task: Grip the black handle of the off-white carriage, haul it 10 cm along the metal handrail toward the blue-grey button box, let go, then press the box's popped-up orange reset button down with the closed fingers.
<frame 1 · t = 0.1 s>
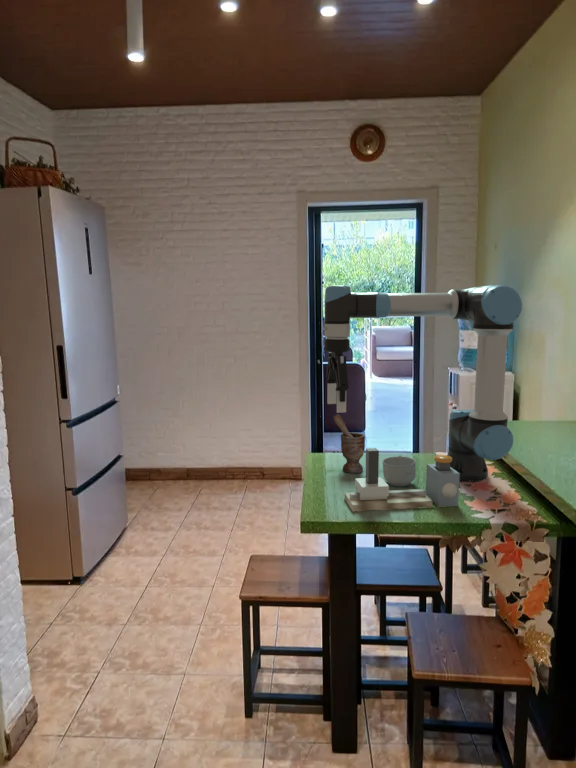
hand: (336, 407, 162), 28 cm above the table, tool pointing down, fingers open, 13 cm apart
rail board: (387, 503, 159), on the table
mortar and pestle: (348, 470, 191), on the table
reset button: (442, 468, 160), point 10 cm above the table, slide at 0.0 cm
carriage: (371, 473, 157), point 10 cm above the table, slide at 0.0 cm
blue-grey button box: (441, 500, 161), on the table
teacup: (399, 482, 178), on the table
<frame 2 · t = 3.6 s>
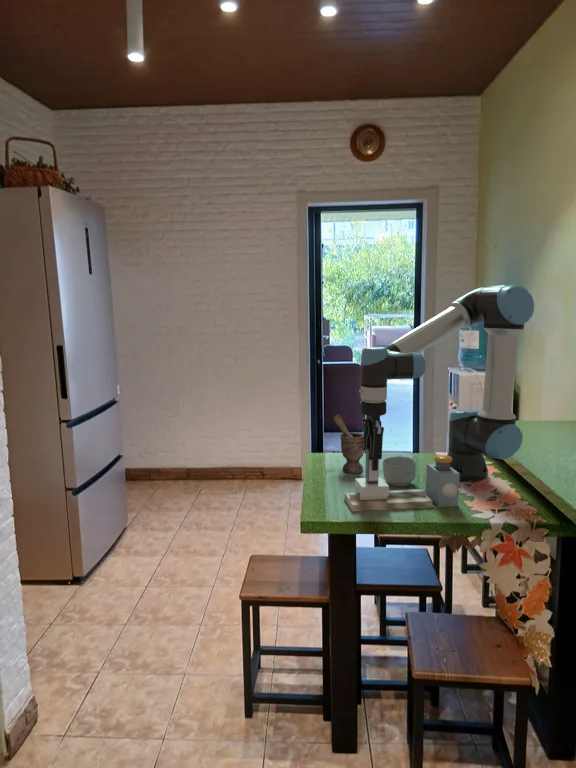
hand: (371, 478, 157), 8 cm above the table, tool pointing down, fingers closed on carriage, 3 cm apart
carriage: (371, 473, 157), point 10 cm above the table, slide at 0.0 cm, touching gripper
everything else where it was.
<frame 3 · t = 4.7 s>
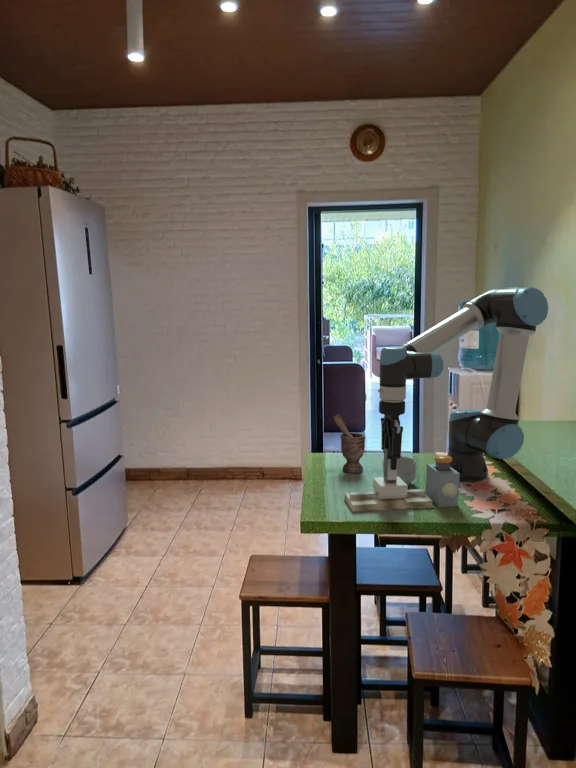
hand: (390, 477, 158), 8 cm above the table, tool pointing down, fingers closed on carriage, 3 cm apart
carriage: (390, 472, 158), point 10 cm above the table, slide at 5.6 cm, touching gripper
everything else where it was.
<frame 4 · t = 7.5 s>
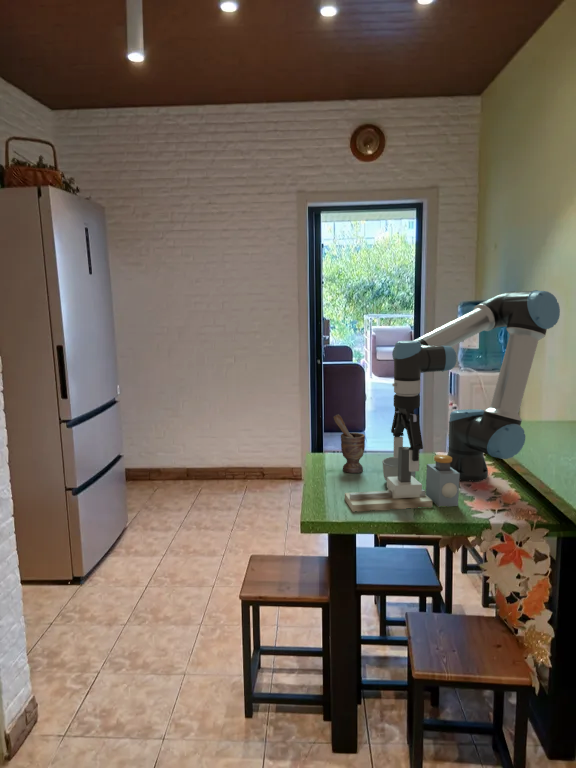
hand: (405, 464, 158), 12 cm above the table, tool pointing down, fingers open, 13 cm apart
carriage: (404, 471, 158), point 10 cm above the table, slide at 10.0 cm
everything else where it was.
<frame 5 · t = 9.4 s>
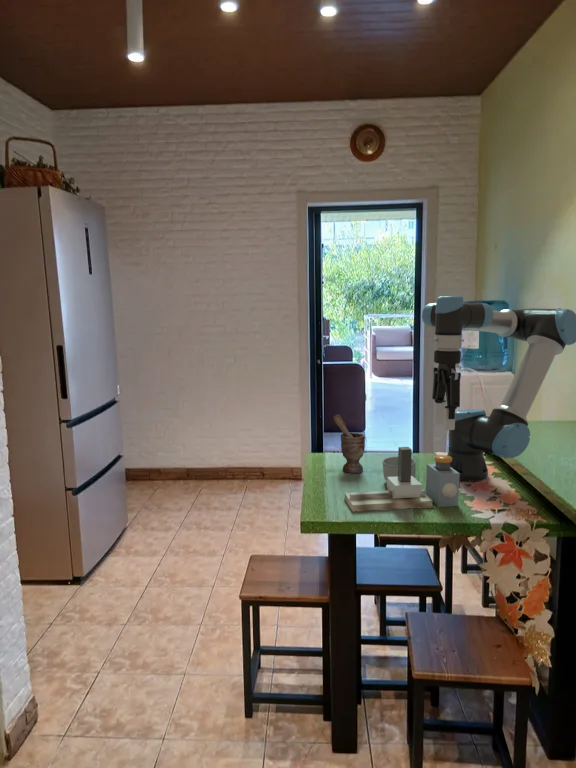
hand: (444, 426, 158), 23 cm above the table, tool pointing down, fingers open, 6 cm apart
nothing on the table moved.
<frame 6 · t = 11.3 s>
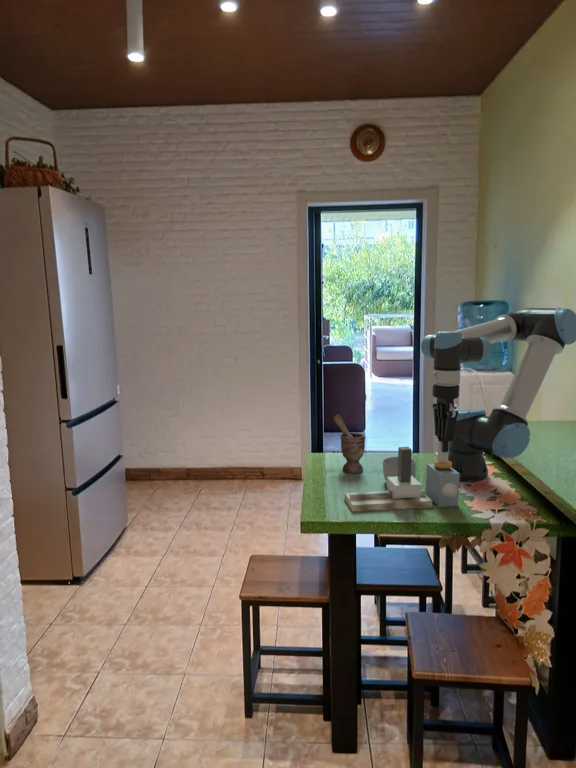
hand: (442, 461, 159), 12 cm above the table, tool pointing down, fingers closed
reset button: (442, 473, 160), point 8 cm above the table, slide at 1.5 cm, touching gripper
everything else where it was.
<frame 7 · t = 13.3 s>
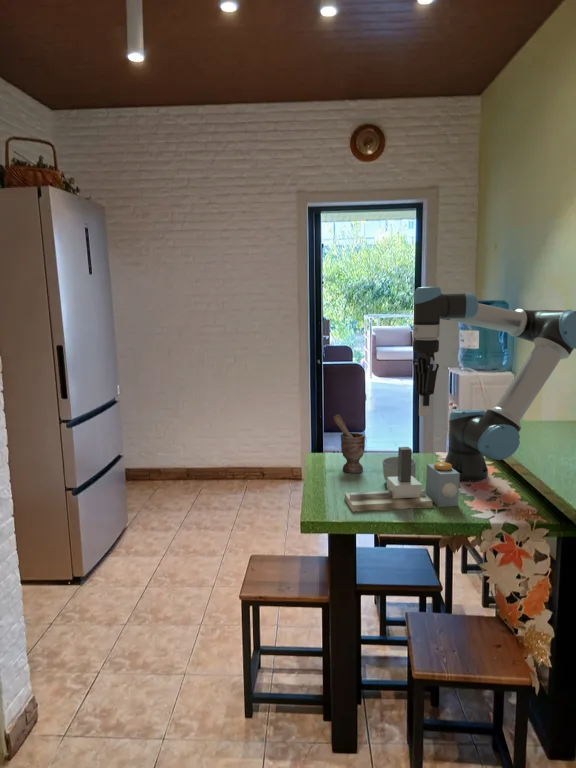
hand: (423, 415, 163), 25 cm above the table, tool pointing down, fingers closed
reset button: (442, 475, 160), point 8 cm above the table, slide at 2.3 cm
everything else where it was.
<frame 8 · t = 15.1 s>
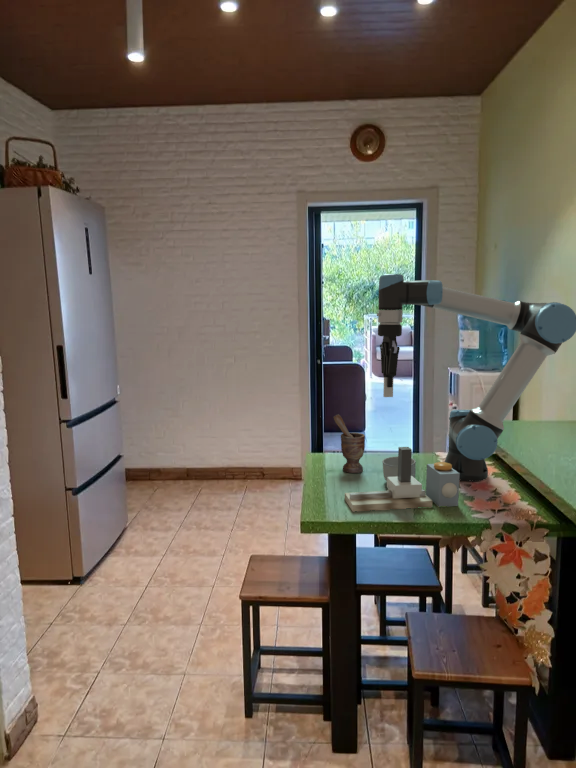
hand: (388, 396, 172), 29 cm above the table, tool pointing down, fingers closed
nothing on the table moved.
at the end: carriage slide at 10.0 cm; reset button slide at 2.3 cm; the gripper is holding nothing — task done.
